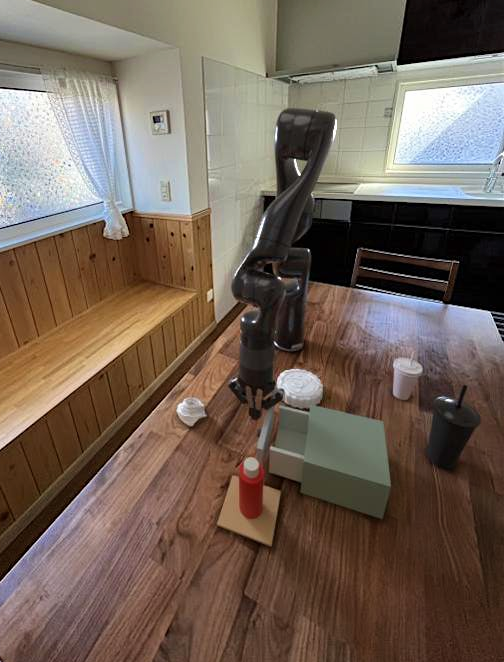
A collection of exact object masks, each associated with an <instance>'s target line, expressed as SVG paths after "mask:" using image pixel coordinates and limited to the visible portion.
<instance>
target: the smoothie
mask: <svg viewBox="0 0 504 662" xmlns="http://www.w3.org/2000/svg"><path fill="white" fill-rule="evenodd" d="M415 355H416V351H415V350H412V353H411V356H410V358H408V357H398V358H395V359H394V361H393V363H392V367H393V384H392V395H393V396H394V397H395V398H397V399H398V400H401V401H407V400H409V399H410V396H411V394H412V392H413V390H414V388H415V386H416V383H417V381H418V380H419V378H420V376H421V375H422V374H423V371H424V370H423V369H424V368H423V367H422V365H421V364H420V363H419V362H418V361H416V360H414V359H415Z"/></svg>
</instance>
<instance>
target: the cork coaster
mask: <svg viewBox="0 0 504 662" xmlns="http://www.w3.org/2000/svg"><path fill="white" fill-rule="evenodd" d="M281 494H282V490H279V489H276V488H273V487H271V486H268V485H265V484H263V507H262V513H261V515H260V516H259V517H257V518H255V519H248V518H246V517H245V516H243V515H242V513H241V511H240V509H239V476H238V475H234V474H232V476H231V479H230V483H229V485H228V489H227V492H226V495H225V498H224V501H223V504H222V508H221V511H220V513H219V518H218V520H217V522H216V526H217V527H219V528H222V529H224V530H227V531H230V532H232V533H233V534H234V533H235V534H237V535H240V536H241V537H244V538H247V539H250V540H253V541H255V542H257V543H260V544H263V545H265V546H268V547H270V548H272V546H273V542H274V536H275V530H276V523H277V517H278V511H279V507H280V501H281Z"/></svg>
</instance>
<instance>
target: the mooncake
mask: <svg viewBox="0 0 504 662" xmlns="http://www.w3.org/2000/svg"><path fill="white" fill-rule="evenodd" d="M276 387H277V388H279V389H281V388H282V389H284V396H283V400H281V401H282V402H285V404H286V405H288V406H291V408H298V409H299V410H303V409H307V410H308V409H309V410H310V406H311V405H314V406H317V405H320V403H321V401H322V400H323V395H324V385H323V383H322V380H321V379H320V378H319V377H318V376H317V375H316V374H313V372H311V371H307V370H306V369H300V368H296V369H294V368H290V369H288V370H286V369H285V370H284V371H283V372H281V373H280V374H279V375H278V376H277V381H276Z"/></svg>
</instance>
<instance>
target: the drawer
mask: <svg viewBox="0 0 504 662" xmlns="http://www.w3.org/2000/svg"><path fill="white" fill-rule="evenodd" d="M275 408H276V405H274V406H273V407H271V408H270V409H268V410H266V412H265V416H264V420H263V423H262V427H261V428H258V429H257V434H256V436H257V437H258V442H257V444H256V445H257V446H256V458H255V459H256V460H257V461H258V463H259V464H260V465H261V466H262V468H263V469H264V467H265V463H266V459H267V454H268V451H269V461H268V465H269V466H268V473H270V474H273V475H276V476H280V477H283V478H286V479H289V480H292V481H296V482H298V483H301V481H302V472H303V462H304V454H305V446H306V438H307V430H308V422H309V414H310V411H305V410H304V411H303V410H302V409H296V408H294V407H288V406H285V405H279V409H278V427H277V432H276V436H275V441H274V445H273V446H272V445H270V443H271V442H270V441H271V437H272V434H273V429H274V425H275ZM269 445H270V447H269Z"/></svg>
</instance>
